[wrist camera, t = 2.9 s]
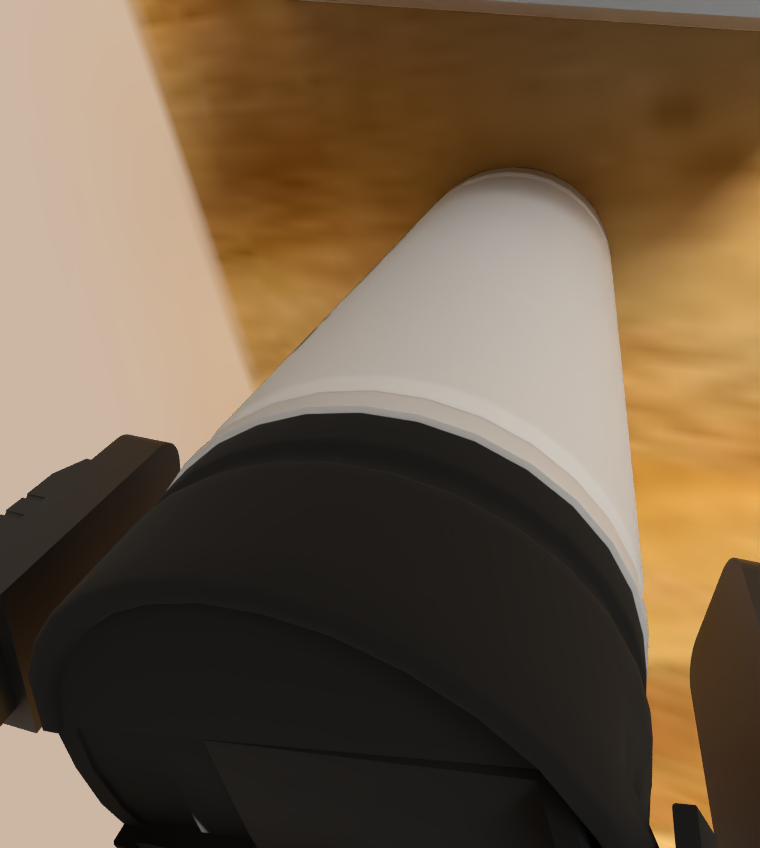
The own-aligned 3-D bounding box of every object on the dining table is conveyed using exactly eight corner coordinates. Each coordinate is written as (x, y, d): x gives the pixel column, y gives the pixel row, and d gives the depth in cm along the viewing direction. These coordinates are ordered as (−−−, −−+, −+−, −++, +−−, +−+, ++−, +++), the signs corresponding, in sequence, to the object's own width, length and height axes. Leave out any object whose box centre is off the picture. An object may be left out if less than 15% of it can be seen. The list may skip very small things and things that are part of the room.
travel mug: (631, 341, 23) (752, 1192, 6) (437, 367, 25) (119, 1043, 8) (610, 141, 20) (715, 627, 3) (396, 190, 23) (-187, 633, 6)
